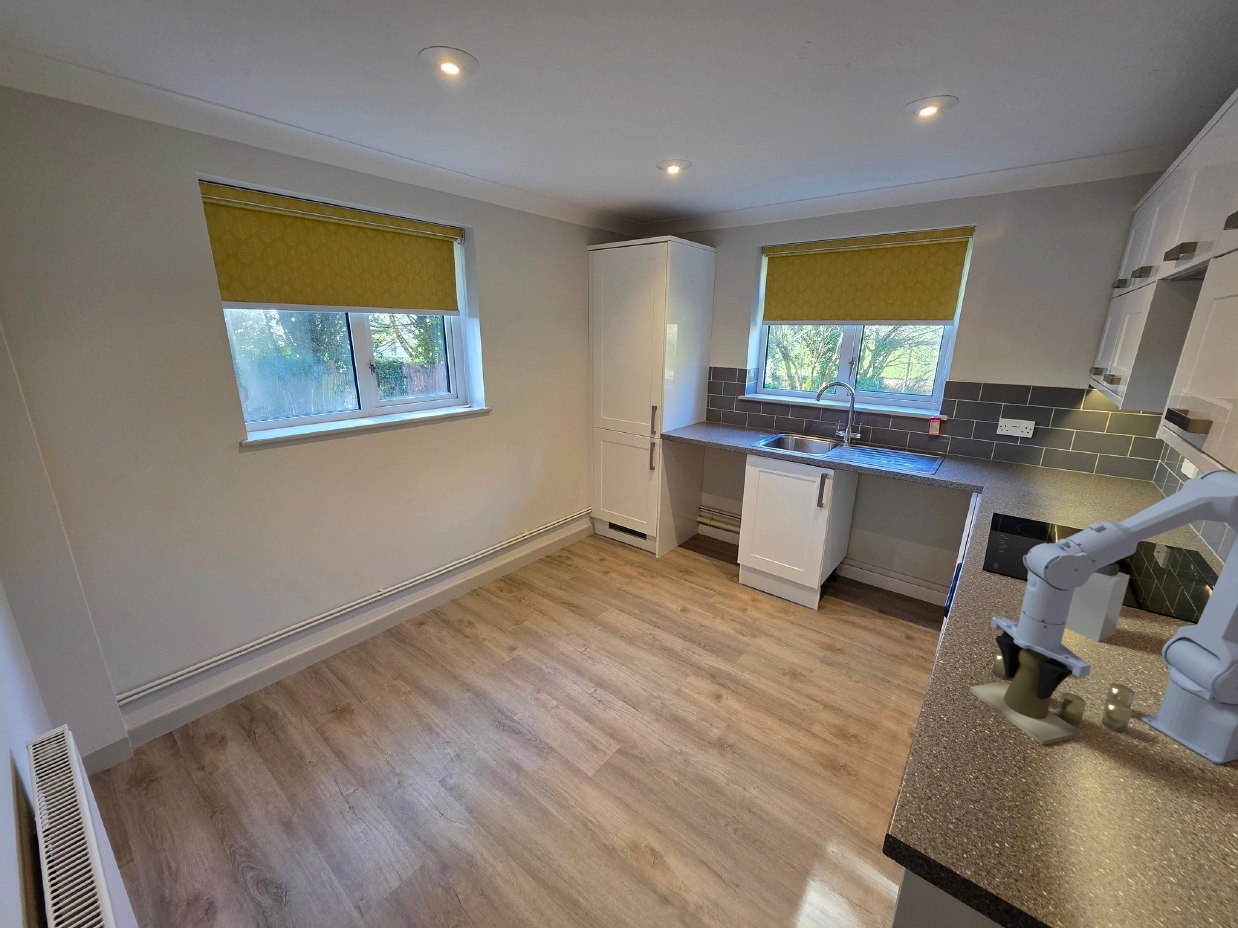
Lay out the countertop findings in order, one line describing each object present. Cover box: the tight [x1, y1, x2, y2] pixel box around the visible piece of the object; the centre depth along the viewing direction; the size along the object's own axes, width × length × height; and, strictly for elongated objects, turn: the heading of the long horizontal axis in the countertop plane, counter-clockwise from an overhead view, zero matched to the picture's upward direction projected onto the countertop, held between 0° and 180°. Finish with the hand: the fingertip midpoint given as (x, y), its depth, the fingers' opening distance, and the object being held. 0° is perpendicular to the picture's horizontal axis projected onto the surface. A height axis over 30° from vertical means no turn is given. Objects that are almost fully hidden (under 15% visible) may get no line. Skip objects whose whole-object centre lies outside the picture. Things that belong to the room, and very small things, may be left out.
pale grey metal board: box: [968, 680, 1082, 746], centre depth 85 cm, size 13×8×1 cm, turn 13°
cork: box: [1004, 648, 1050, 719], centre depth 84 cm, size 6×6×11 cm
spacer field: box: [991, 650, 1135, 734], centre depth 90 cm, size 21×14×4 cm
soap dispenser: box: [1065, 562, 1131, 643], centre depth 108 cm, size 6×9×22 cm
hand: (1026, 686), depth 84 cm, fingers closed on cork, 5 cm apart
